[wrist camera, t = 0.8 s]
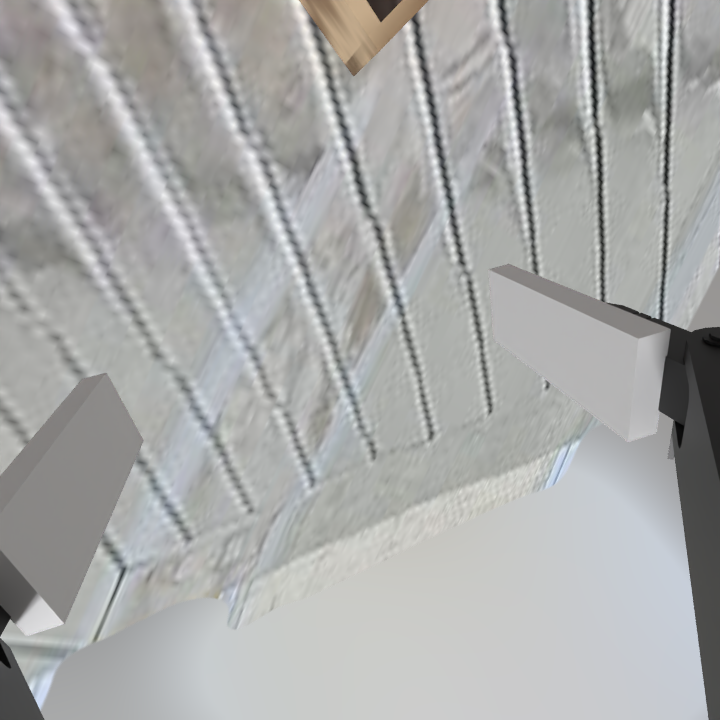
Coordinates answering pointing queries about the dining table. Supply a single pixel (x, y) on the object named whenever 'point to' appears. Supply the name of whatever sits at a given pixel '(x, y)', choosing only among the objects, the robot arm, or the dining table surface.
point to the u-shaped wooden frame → (358, 27)
